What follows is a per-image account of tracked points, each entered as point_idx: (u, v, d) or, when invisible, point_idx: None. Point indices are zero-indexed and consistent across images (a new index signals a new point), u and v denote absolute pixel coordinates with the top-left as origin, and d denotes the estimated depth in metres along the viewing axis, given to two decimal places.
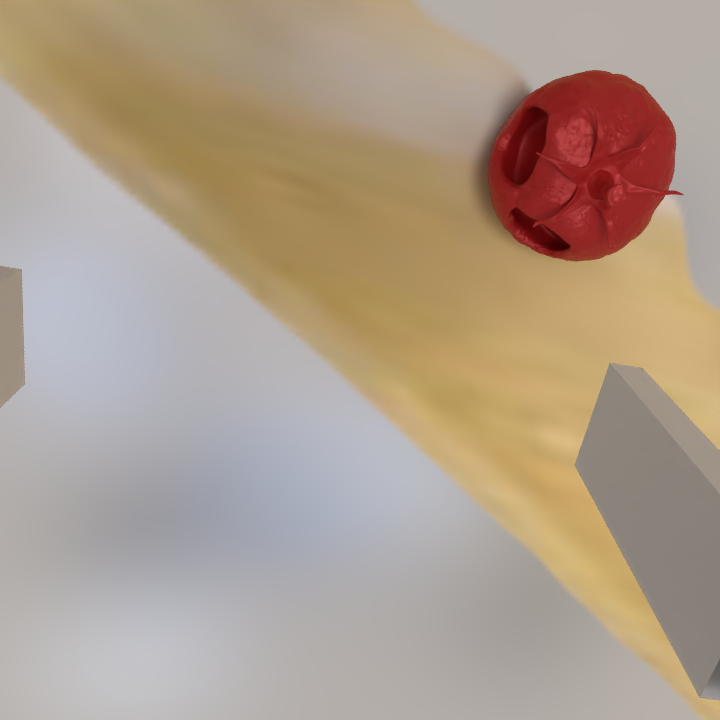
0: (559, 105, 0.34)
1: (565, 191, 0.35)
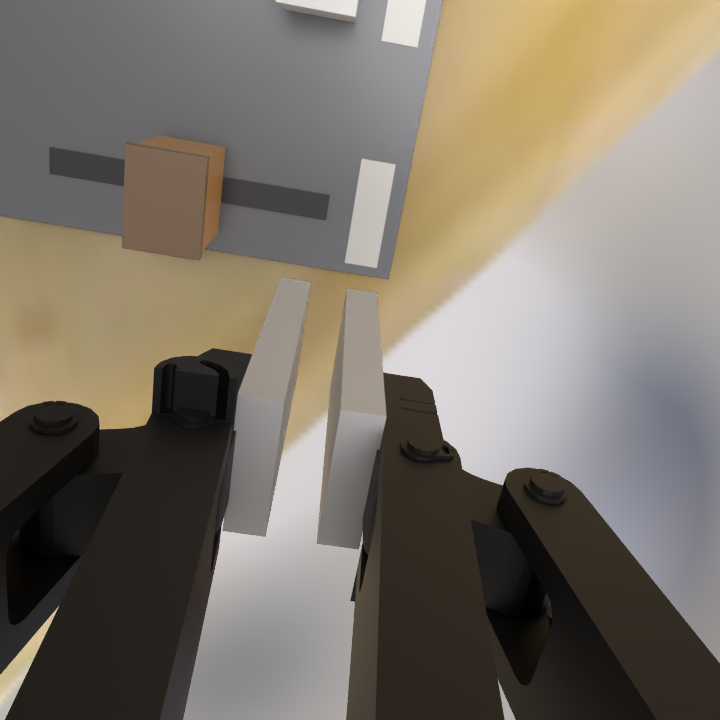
0: None
1: None
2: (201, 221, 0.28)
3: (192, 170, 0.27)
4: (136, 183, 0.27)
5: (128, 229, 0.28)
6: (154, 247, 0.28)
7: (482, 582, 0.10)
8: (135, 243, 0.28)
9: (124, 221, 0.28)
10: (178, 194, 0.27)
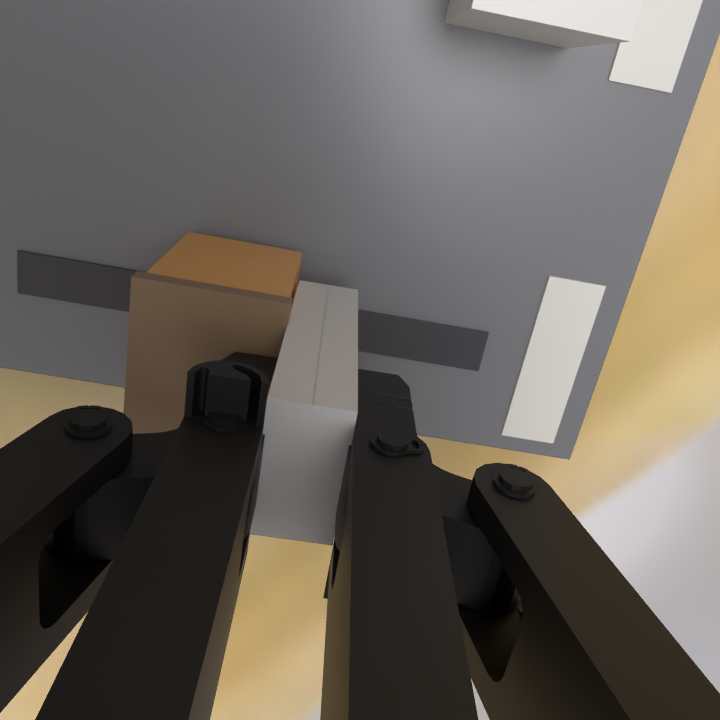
0: None
1: None
2: None
3: (260, 326, 0.14)
4: (151, 347, 0.14)
5: (134, 425, 0.15)
6: None
7: None
8: None
9: (126, 412, 0.15)
10: None
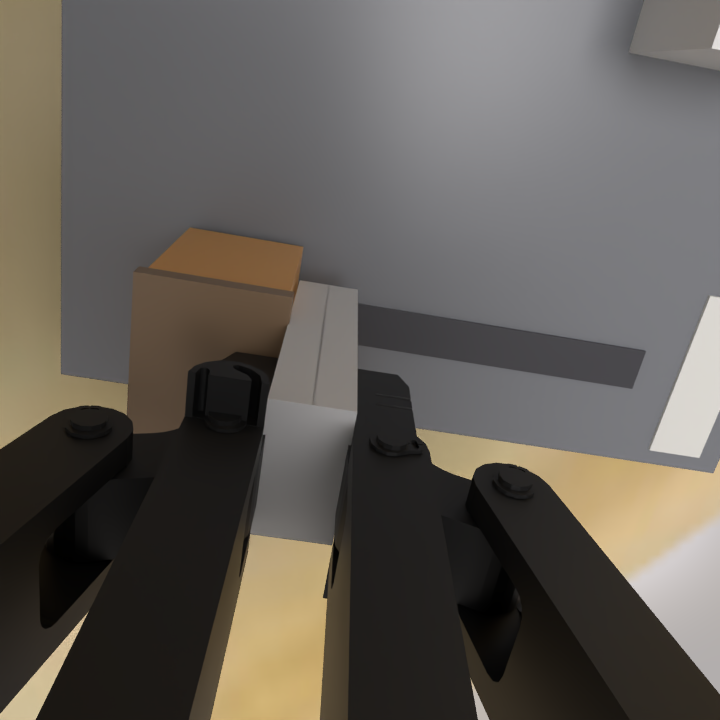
0: None
1: None
2: None
3: (262, 320, 0.14)
4: (153, 342, 0.14)
5: (137, 420, 0.15)
6: None
7: (451, 577, 0.10)
8: None
9: (130, 407, 0.15)
10: None
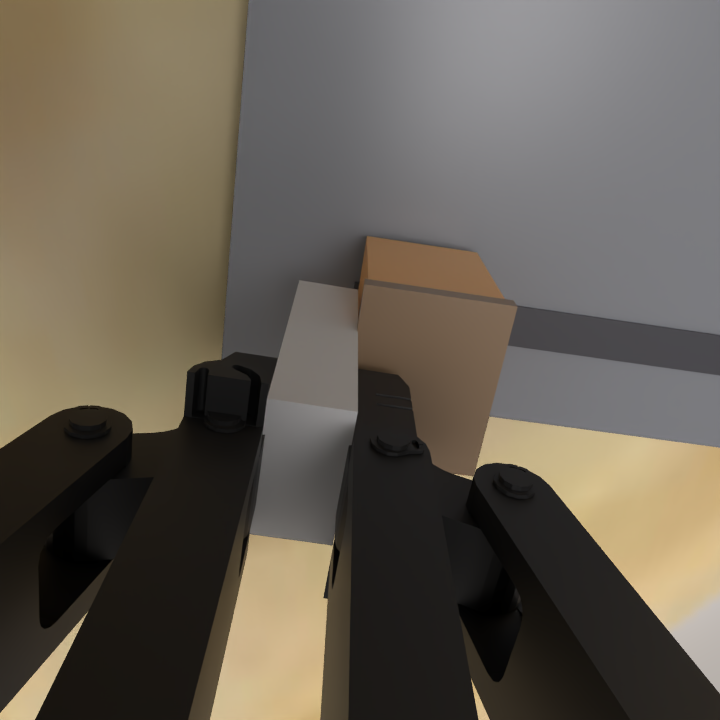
0: None
1: None
2: (487, 413, 0.15)
3: (485, 329, 0.14)
4: (376, 352, 0.15)
5: None
6: None
7: None
8: None
9: None
10: (452, 370, 0.15)
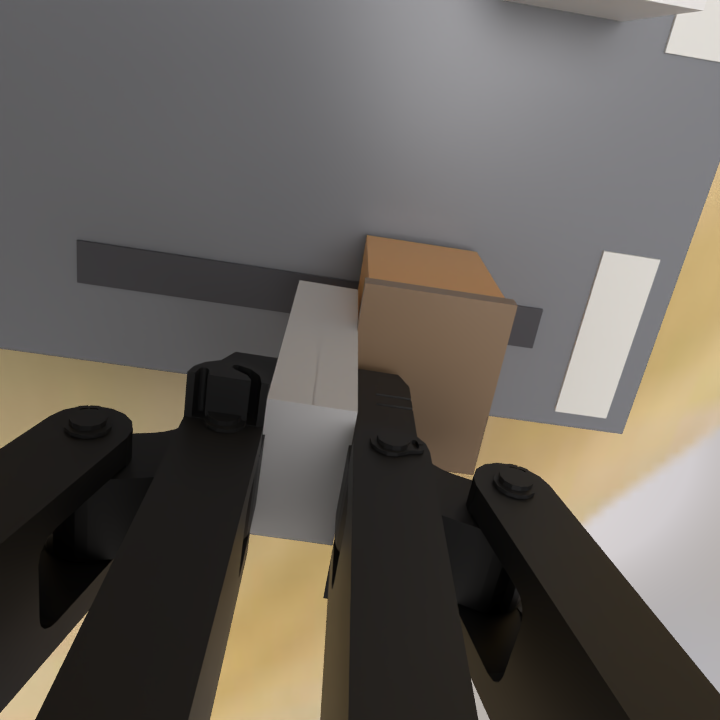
0: None
1: None
2: (487, 412, 0.15)
3: (485, 328, 0.14)
4: (376, 351, 0.15)
5: None
6: None
7: None
8: None
9: None
10: (452, 368, 0.15)
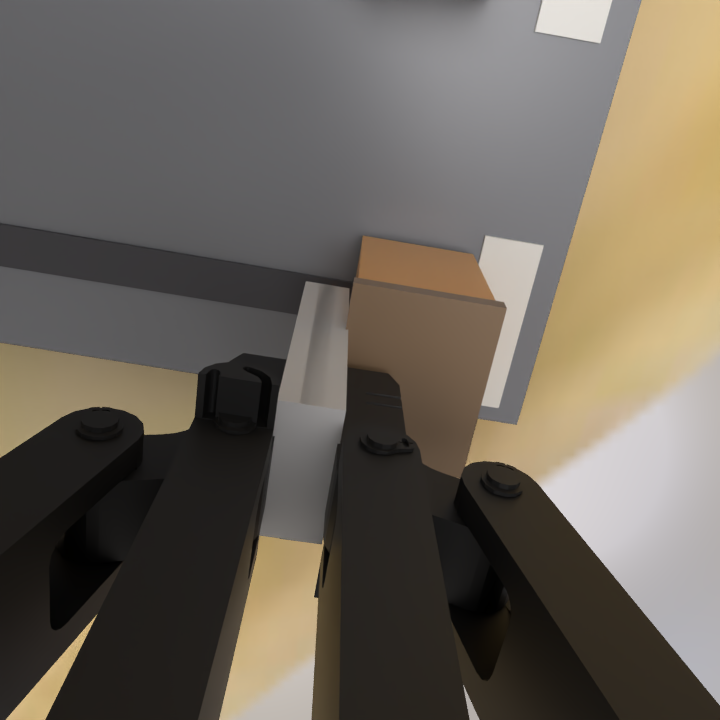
0: None
1: None
2: (475, 415, 0.15)
3: (474, 330, 0.14)
4: (365, 351, 0.14)
5: None
6: None
7: None
8: None
9: None
10: (440, 370, 0.15)
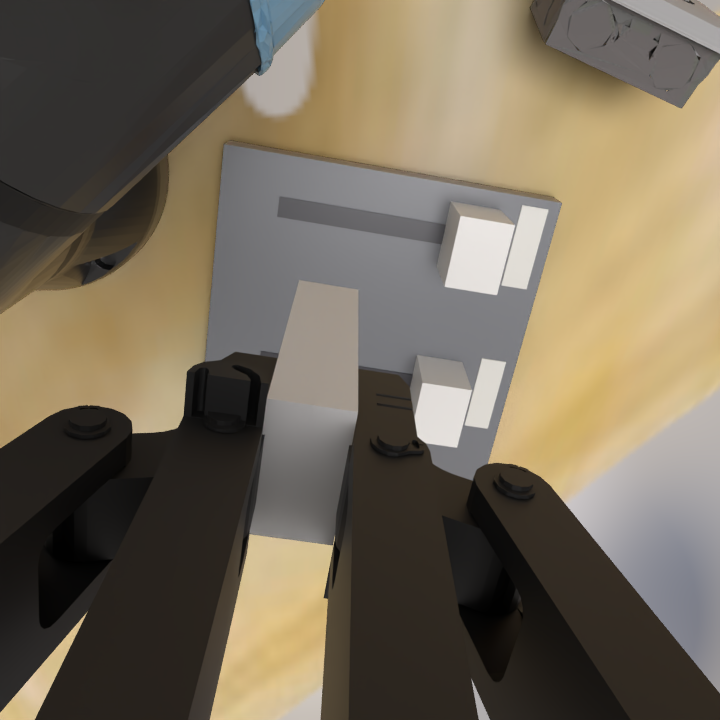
0: None
1: None
2: None
3: None
4: None
5: None
6: None
7: None
8: None
9: None
10: None
